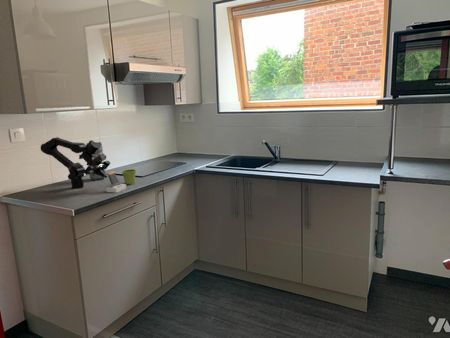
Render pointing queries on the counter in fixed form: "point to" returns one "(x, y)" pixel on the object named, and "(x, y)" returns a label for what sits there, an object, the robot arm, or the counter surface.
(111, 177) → the rocker lever
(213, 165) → the counter surface
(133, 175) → the plant pot
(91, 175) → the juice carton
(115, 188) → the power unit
